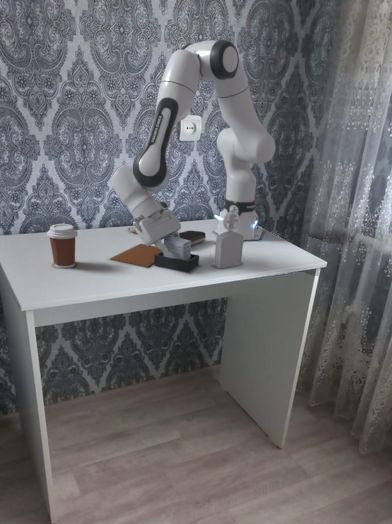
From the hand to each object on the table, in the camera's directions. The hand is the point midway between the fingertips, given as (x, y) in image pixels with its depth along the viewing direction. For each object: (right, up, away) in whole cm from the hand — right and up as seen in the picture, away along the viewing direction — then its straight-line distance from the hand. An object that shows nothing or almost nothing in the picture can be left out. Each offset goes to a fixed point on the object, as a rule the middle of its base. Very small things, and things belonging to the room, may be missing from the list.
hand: (174, 248), depth 158 cm
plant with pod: (-14, +13, +34) cm, 39 cm away
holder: (+1, -5, +2) cm, 6 cm away
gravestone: (+17, -4, +6) cm, 19 cm away
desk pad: (-11, 0, +10) cm, 14 cm away
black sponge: (+3, +6, +24) cm, 25 cm away
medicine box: (+1, -5, +2) cm, 6 cm away
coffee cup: (-35, -6, -3) cm, 35 cm away
